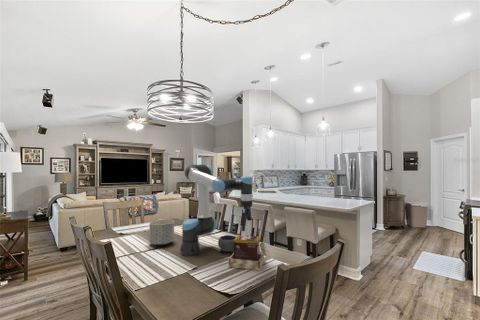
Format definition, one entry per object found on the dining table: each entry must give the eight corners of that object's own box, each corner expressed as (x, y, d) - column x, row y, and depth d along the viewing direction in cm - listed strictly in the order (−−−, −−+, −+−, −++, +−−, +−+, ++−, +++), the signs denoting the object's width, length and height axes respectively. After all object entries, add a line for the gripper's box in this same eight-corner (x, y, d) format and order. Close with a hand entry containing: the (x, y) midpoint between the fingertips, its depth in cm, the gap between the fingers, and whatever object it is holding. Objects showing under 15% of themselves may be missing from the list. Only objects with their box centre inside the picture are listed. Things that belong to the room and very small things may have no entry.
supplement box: (257, 266, 151) (257, 241, 151) (233, 264, 154) (233, 239, 155) (259, 260, 161) (259, 236, 162) (237, 258, 164) (237, 234, 165)
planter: (144, 246, 192) (144, 223, 193) (160, 239, 210) (160, 218, 210) (163, 249, 185) (163, 225, 186) (178, 242, 203) (178, 220, 203)
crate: (228, 266, 153) (228, 258, 153) (235, 258, 167) (235, 250, 167) (259, 270, 148) (259, 261, 148) (263, 260, 162) (263, 253, 162)
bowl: (241, 249, 185) (241, 235, 186) (232, 255, 172) (232, 241, 172) (224, 246, 192) (224, 233, 192) (214, 252, 178) (214, 238, 178)
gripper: (247, 203, 145) (247, 239, 145) (255, 197, 170) (255, 228, 169) (235, 202, 147) (235, 237, 147) (245, 197, 171) (245, 227, 171)
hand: (246, 232), depth 158 cm, fingers open, 13 cm apart
